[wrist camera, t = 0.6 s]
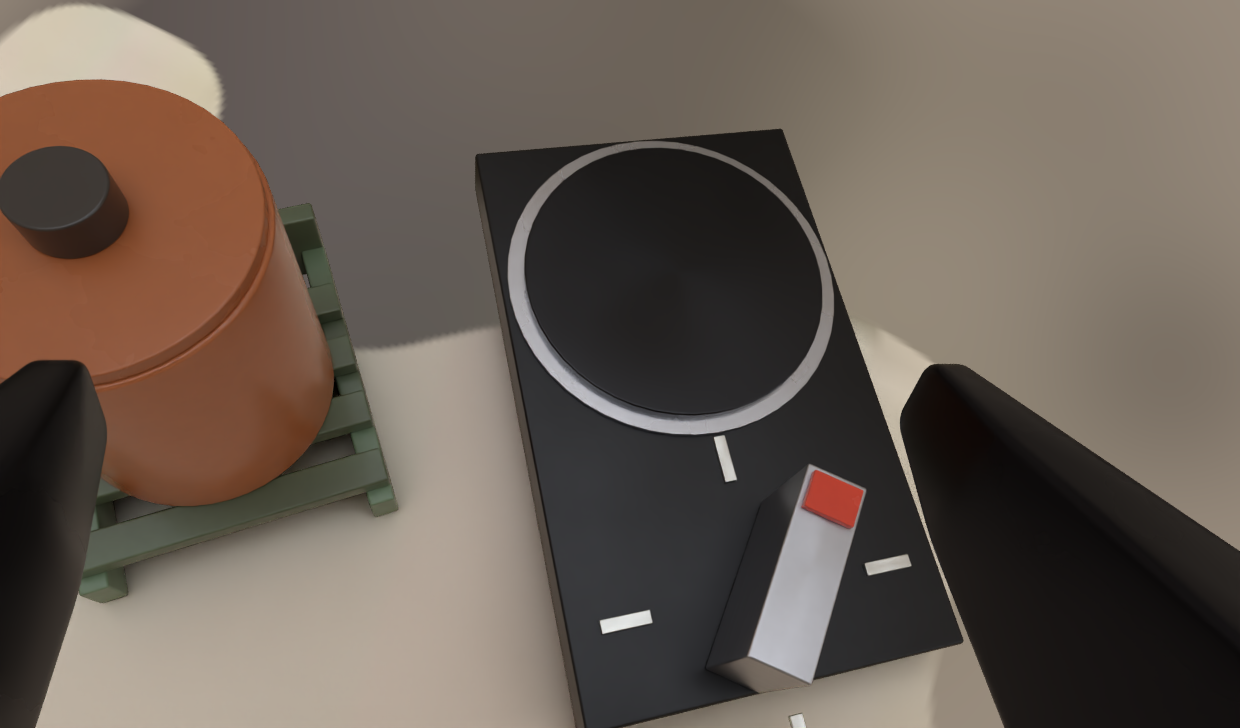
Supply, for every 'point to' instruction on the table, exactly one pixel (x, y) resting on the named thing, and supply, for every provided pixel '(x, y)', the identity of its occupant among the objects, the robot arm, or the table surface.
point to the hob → (700, 497)
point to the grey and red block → (788, 583)
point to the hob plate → (670, 288)
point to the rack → (283, 493)
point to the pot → (158, 287)
